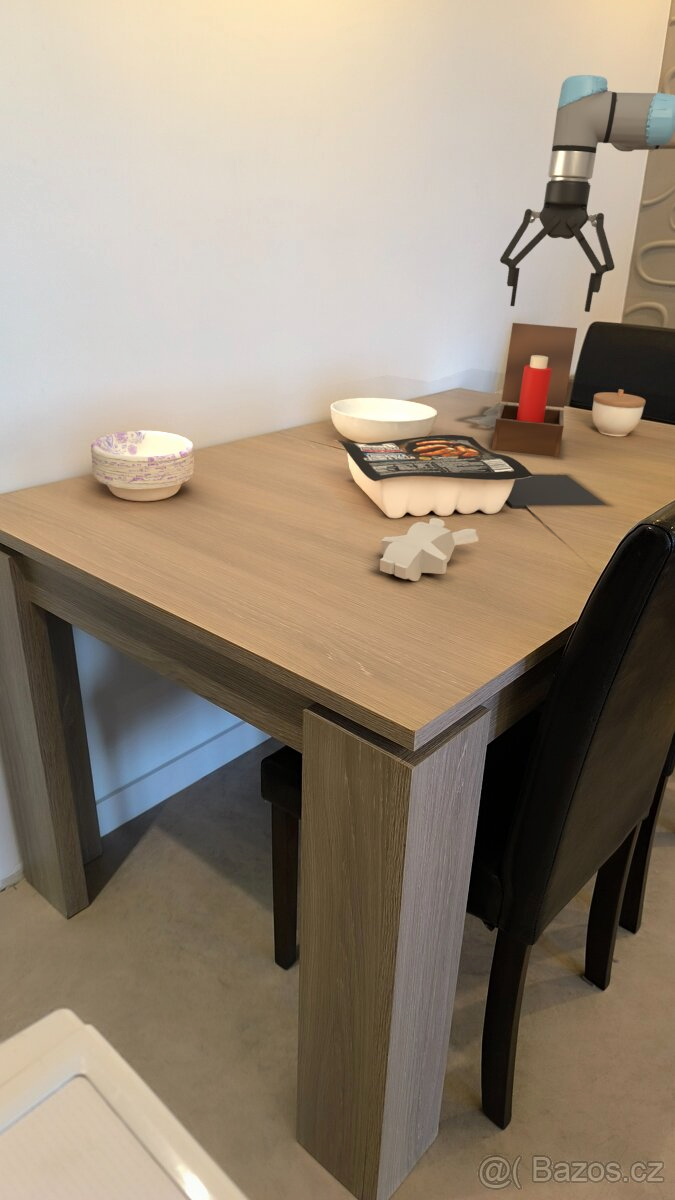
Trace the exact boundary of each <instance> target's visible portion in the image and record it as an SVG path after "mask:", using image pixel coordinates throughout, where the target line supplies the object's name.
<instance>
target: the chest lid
mask: <svg viewBox="0 0 675 1200" xmlns="http://www.w3.org/2000/svg"><path fill="white" fill-rule="evenodd" d="M577 332H578V327H568V326H558V325H545V324H544V325H543V324H534V323H533V324H531V323H530V324H529V323H520V322H512V324H511V332H510V339H509V344H508V352H507V359H506V367H505V372H504V380H503V387H502V394H501V402H502V403H513V404H519V400H520V393H521V386H522V379H523V373H524V366H526V365H530V361H531V356H533V355H539V356H546V357H548V363H547V367H550V368H552V372H551V378H550V384H549V390H548V397H547V403H546V407H551V408H552V407H553V408H562V409H563V408H565V405H566V399H567V393H568V387H569V380H570V374H571V369H572V362H573V357H574V356H573V355H574V351H575V344H576V339H577V338H576V337H577Z"/></svg>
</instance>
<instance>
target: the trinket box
mask: <svg viewBox="0 0 675 1200" xmlns="http://www.w3.org/2000/svg"><path fill="white" fill-rule="evenodd" d="M617 391H618V392H605V391H603V392H597V393H594V394H593V403H592V408H591V409H592V410H591V416H592V422H593V424H594V427H596V429H597V430H598V433H599V434H602V435H604V436H610V437H627V436H628V434H629V433H631V432H632V431H634V430H635V429H636V427H637V426H638V424H639V423H640V421H641V419H642V415H643V412H644V409H645V405H646V399H645V398H643V397H641V396H638V395H634V394H628V393H624V392H625V390H624V389H622V388H621V389H620V388H619V389H618V390H617Z"/></svg>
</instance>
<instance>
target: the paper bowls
mask: <svg viewBox="0 0 675 1200" xmlns="http://www.w3.org/2000/svg"><path fill="white" fill-rule="evenodd" d="M90 447H91V448H90V452H91V465H92V476H93V477H94V479H95V480H96V481H98V482H99V483H101V484H104V485H106V486H107V488H108V489H109V491H110V492H111V493H112V494H113V495H114V496H115V497H117V498H120V499H122V500H126V501H132V502H156V501H162V500H165V499H168V498H171V497H173V496H175V495H176V494H177V493H178V492H179V490H180V489H181V487H182V484H183V483H185V482H187V481H189V480H191V479H192V478H193V477H194V474H195V453H194V449H195V446H194V444H193V442H192V441H191V440H190V439H188V438H186V437H184V436H182V435H179V434H175V433H171V432H165V431H157V430H127V431H119V432H114V433H113V432H112V433H109V434H104V435H101V436H99V437H97V438H95V439H94V440H93V441H92V442H91V446H90Z"/></svg>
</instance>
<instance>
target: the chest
mask: <svg viewBox="0 0 675 1200" xmlns="http://www.w3.org/2000/svg"><path fill="white" fill-rule="evenodd" d="M500 404H501V406H500V409H499V412H498V415H497V418H496V423H495V428H494V431H493V440H492V446H491V450H492V451H500V452H508V453H515V454H516V453H517V454H526V455H534V456H544V457H551V458H559V456H560V451H561V443H562V438H563V434H564V433H563V432H564V427H565V425H564V424H565V420H564V419H565V417H564V416H565V412H564V411H565V410H564V409H558V408H549V407H546V409H545V415H544V422H543V423H540V422H530V421H521V420H517V414H518V407H519V404H518V405H517V404H509V403H508V404H507V403H500Z"/></svg>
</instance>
